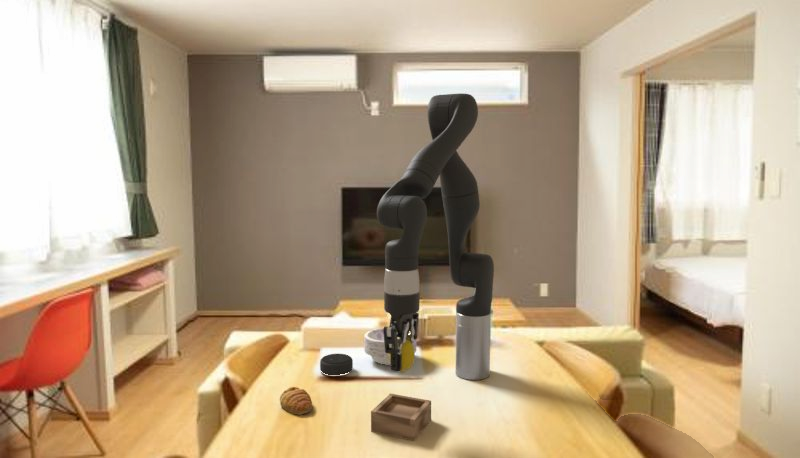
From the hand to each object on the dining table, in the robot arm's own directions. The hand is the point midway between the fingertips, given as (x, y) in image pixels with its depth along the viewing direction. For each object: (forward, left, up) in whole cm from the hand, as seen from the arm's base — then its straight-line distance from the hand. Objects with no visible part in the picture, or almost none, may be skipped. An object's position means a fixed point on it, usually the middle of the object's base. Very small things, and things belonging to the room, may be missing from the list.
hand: (401, 365), depth 119 cm
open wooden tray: (0, 0, -14) cm, 14 cm away
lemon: (0, 0, -2) cm, 2 cm away
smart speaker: (-22, -29, -14) cm, 39 cm away
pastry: (+1, -27, -14) cm, 30 cm away
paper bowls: (-36, -19, -14) cm, 43 cm away
